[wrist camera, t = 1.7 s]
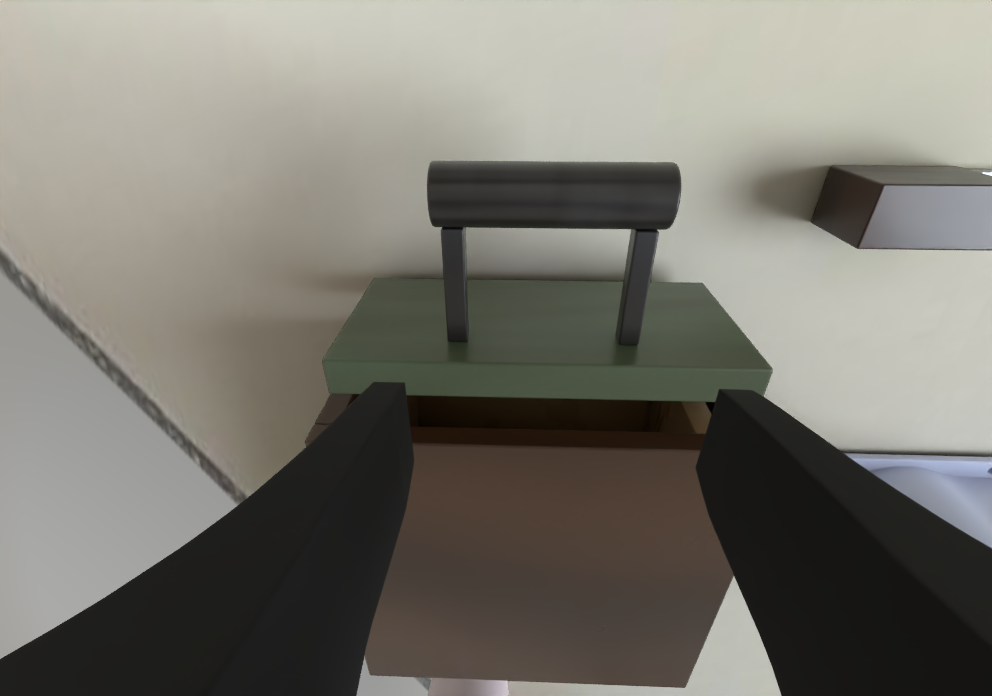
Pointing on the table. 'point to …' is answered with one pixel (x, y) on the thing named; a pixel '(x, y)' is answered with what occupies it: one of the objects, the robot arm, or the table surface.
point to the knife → (907, 207)
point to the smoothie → (467, 687)
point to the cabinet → (548, 558)
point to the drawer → (548, 314)
